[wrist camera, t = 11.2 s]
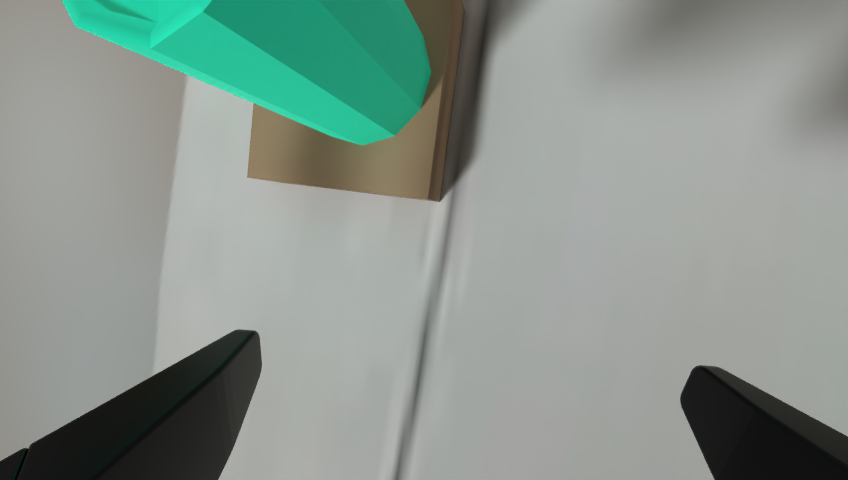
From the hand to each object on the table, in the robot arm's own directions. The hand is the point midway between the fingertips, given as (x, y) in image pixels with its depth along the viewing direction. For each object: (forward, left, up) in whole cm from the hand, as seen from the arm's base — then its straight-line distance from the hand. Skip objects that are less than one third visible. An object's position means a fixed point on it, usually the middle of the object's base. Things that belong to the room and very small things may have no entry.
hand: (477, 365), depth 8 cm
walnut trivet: (+8, -8, -11) cm, 16 cm away
